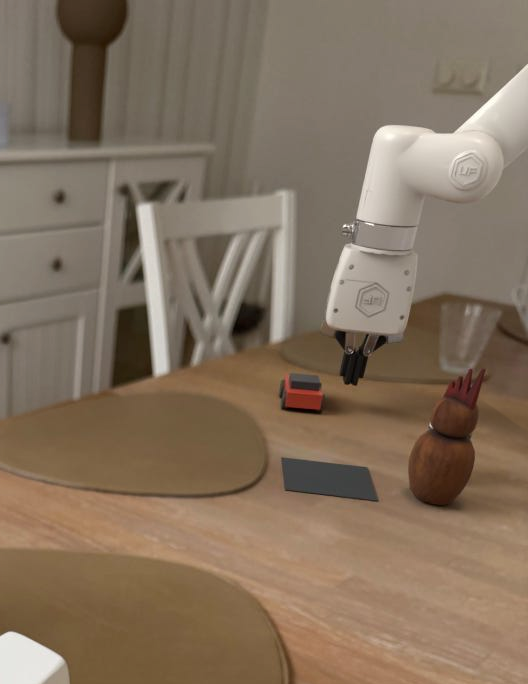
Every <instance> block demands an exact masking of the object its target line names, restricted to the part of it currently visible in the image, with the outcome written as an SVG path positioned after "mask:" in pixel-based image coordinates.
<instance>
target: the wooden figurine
mask: <svg viewBox="0 0 528 684" xmlns="http://www.w3.org/2000/svg"><path fill="white" fill-rule="evenodd" d="M485 373H486V368H481V370H480V371H479V372H478V374H477V376H476V378H475V380H474V381H473V383H472V378H473V368H469V369H468V371H467V373H466V375H465V378H464V377H463V376H462V375H459V376H458V377H457V380H456V381H455V380H451V381H450V382H449V384H448V385H447V388H446V390H445V392H444V395H443V397H440V399H438V400H437V401H436V402H435V404H434V405H433V407H432V410H431V413H430V418H429V424H430V423H431V426H432V429H429V430H428V429H427V430H426V431H424V432H423V433H422V434H420V435H419V437H418V438H417V439H416V441H415V442H414V443H413V446H412V449H411V450H410V455H409V458H408V467H407V468H408V469H407V470H408V471H407V472H408V473H407V475H408V485H409V490H410V491H411V493H412V495H413V496H414V497H415V498H416V499H418V500H420V501H421V502H424V503H427V504H431V505H440V506H443V505H448V504H450V503H452V502H453V501H455V500H456V499H457V498H458V497H459V495H460V494H461V493H462V492H463V490H465V487H466V486H467V484H468V482H469V480H470V478H471V476H472V473H473V469H474V465H475V460H476V458H475V457H476V451H475V447H474V445H473V442H472V439H469V438H468V437H466V436H468V435H470V434H471V433H472V434H473V432H474V431H475V430H476V427H477V424H478V421H479V412H480V411H479V406H478V404H477V403H478V399H479V395H480V392H481V388H482V384H483V381H484V377H485Z"/></svg>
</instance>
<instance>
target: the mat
mask: <svg viewBox="0 0 528 684" xmlns="http://www.w3.org/2000/svg"><path fill="white" fill-rule="evenodd" d="M281 466H282V467H281V468H282V474H283V475H282V477H283V483H284V491H289V492H295V493H296V492H297V493H304V494H312V495H313V494H314V495H322V496H328V497H329V496H330V497H336V498H337V497H338V498H347V499H356V500H363V501H370V502H371V501H372V502H379V500H378V496H377V493H376V490H375V487H374V484H373V480H372V477H371V474H370V471H369V468H368V466H361V465H351V464H343V463H337V462H336V463H335V462H328V461H327V462H326V461H319V460H318V461H317V460H309V459H301V458H292V457H285V456H284V457H283V456H282V457H281Z"/></svg>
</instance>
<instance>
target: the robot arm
mask: <svg viewBox="0 0 528 684" xmlns="http://www.w3.org/2000/svg"><path fill="white" fill-rule="evenodd" d="M371 142H372V143H371V146H370V151H369V156H368V159H367V165H366V170H365V175H364V178H363V179H364V180H363V183H362V188H361V193H360V197H359V203H358V207H357V211H356V216H355V217H354V221H352V222H349V223H342V224H341V225H342V226H341V230H340V235H341V236H346V238H349V240H350V242H349V243H346V244H345V245H344V246H343V249H342V250H341V253H340V256H339V258H338V262H337V265H336V268H335V270H334V274H333V277H332V281H331V284H330V288H329V291H328V295H327V299H326V303H325V309H324V317H323V319H322V321H321V323H320V325H319V328H318V330H319V333H320V334H321V335H323V336H326V337H329V338H331V339H335V340H336V341H337V343H338V344H339V346H340V347H341V348H342V349H343V356H342V359H341V364H340V368H339V377H342V381H343V384H344V385H346V386H349V385H352V386H356V387H358V383H359V380H360V379H364V376H365V372H366V369H367V364H368V360H369V357H370V356H372V354H373V353H374V352H375V351H377V350H378V349H380V348H381V347H383V346H384V345H388V344H389V345H390V344H391V345H392V344H397V343H401V342H403V341H404V332H405V331H406V328H407V325H408V321H409V316H410V312H411V307H412V303H413V297H414V292H415V286H416V279H417V271H418V258H419V255H418V254H419V253H417V252H416V251H414V250H413V248H414V243H415V239H416V235H417V232H418V227H419V224H420V219H421V217H422V216H421V215H422V213H423V208H424V203H425V199H426V197H431V198H435V199H439V200H443V201H446V202H450V203H455V204H470V203H475V202H477V201H480V200H481V199H483V198H485V197H486V196H487V195H488V194H490V193H491V192H493V190H494V189H495V187H496V186H497V185H498V183H499V181H500V179H501V177H502V174H503V171H504V169H506V168H507V167H508V166H509V165H510V164H511V163H512V162H514V160H516V159H517V158H518V157H519V156H520V155H521V154H523V153H524V152H525V151H526V150H527V149H528V63H527V64H526V65H525V66H524V67H523V68H522V69H520V71H519V72H517V74H515V75H514V77H512V78H511V79H510V80H508V82H506V83H505V85H504V86H503V87H502V88H501V89H499V90H498V91H497V92H496V93H495V94H493V96H492V97H491V98H490V99H489V100H487V101H486V102H485V103H484V104H483V105H482V106H481V107H480V108H479V109H478V110H477V111H476V112H475V113H473V114H472V116H470V117H469V118H468V119H467V120H466V121H465V122H464V123H462V125H460V127H458V128H457V129H456V130H455V131H454V132H453V133H439V132H438V133H437V132H436V131H434V130H433V129H430V128H426V127H420V126H414V125H413V126H412V125H402V124H387V125H384V126H381V127H380V128H379V129H377V131H376V132H375V133H374V136H373V139H372V141H371ZM357 333H358V334H364V337H363V339H362V341H361V342H362V343H361V345H360V346H358V349H356V345H355V344H356V334H357Z"/></svg>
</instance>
